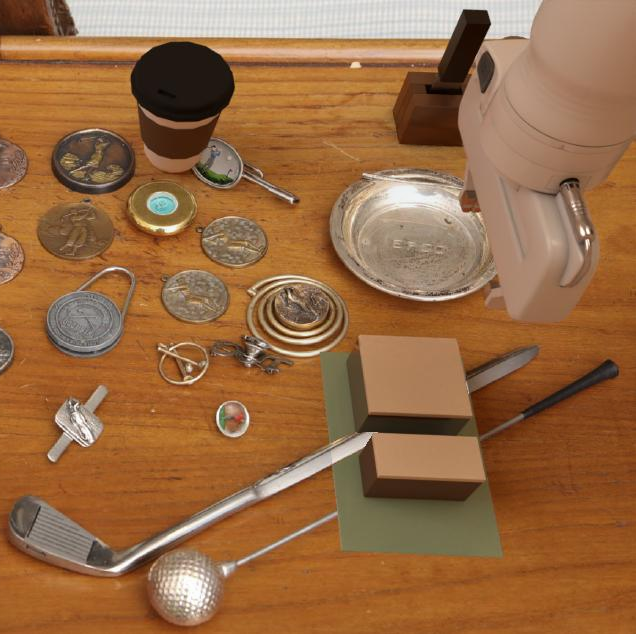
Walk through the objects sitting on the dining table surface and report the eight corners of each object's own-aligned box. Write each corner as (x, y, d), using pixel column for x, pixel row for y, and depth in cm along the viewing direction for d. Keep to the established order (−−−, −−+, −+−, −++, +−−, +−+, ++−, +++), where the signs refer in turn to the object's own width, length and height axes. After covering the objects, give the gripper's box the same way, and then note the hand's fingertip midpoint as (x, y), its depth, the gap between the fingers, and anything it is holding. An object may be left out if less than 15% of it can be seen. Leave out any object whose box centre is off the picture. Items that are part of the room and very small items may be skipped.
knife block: (453, 111, 109) (471, 73, 104) (461, 146, 106) (481, 108, 101) (392, 109, 109) (407, 71, 104) (399, 144, 106) (415, 106, 101)
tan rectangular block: (457, 460, 84) (477, 436, 79) (465, 501, 82) (486, 480, 77) (358, 455, 84) (373, 432, 80) (363, 497, 82) (379, 475, 77)
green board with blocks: (460, 361, 90) (482, 330, 85) (501, 561, 80) (529, 538, 75) (317, 355, 90) (331, 324, 86) (339, 554, 80) (356, 531, 75)
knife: (437, 121, 108) (489, 9, 94) (441, 135, 107) (494, 24, 93) (412, 120, 108) (460, 8, 94) (415, 134, 107) (464, 23, 93)
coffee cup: (192, 204, 101) (206, 126, 90) (107, 164, 104) (111, 84, 93) (237, 142, 106) (254, 61, 95) (154, 105, 109) (163, 23, 98)
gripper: (651, 255, 55) (553, 367, 67) (564, 27, 66) (493, 157, 78) (545, 253, 55) (466, 365, 67) (476, 26, 66) (419, 156, 78)
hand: (480, 252), depth 73 cm, fingers open, 8 cm apart
